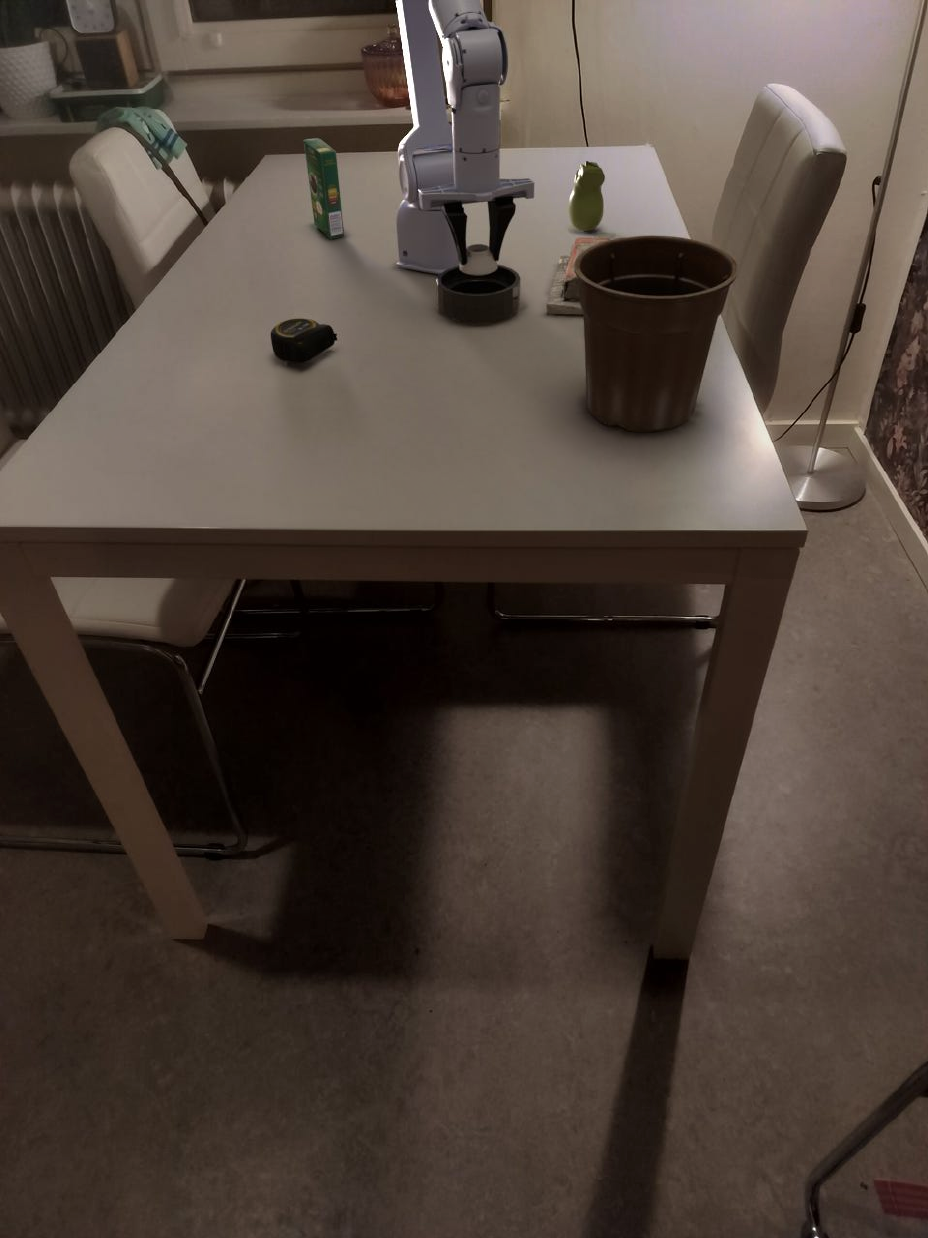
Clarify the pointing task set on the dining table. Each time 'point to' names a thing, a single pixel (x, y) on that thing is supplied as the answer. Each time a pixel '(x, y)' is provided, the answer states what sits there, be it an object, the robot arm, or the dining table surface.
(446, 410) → the dining table surface
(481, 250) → the white jar
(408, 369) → the dining table surface
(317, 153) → the coffee box
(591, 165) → the pear
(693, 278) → the plant pot
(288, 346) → the tape measure
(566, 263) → the packaged product
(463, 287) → the bowl
